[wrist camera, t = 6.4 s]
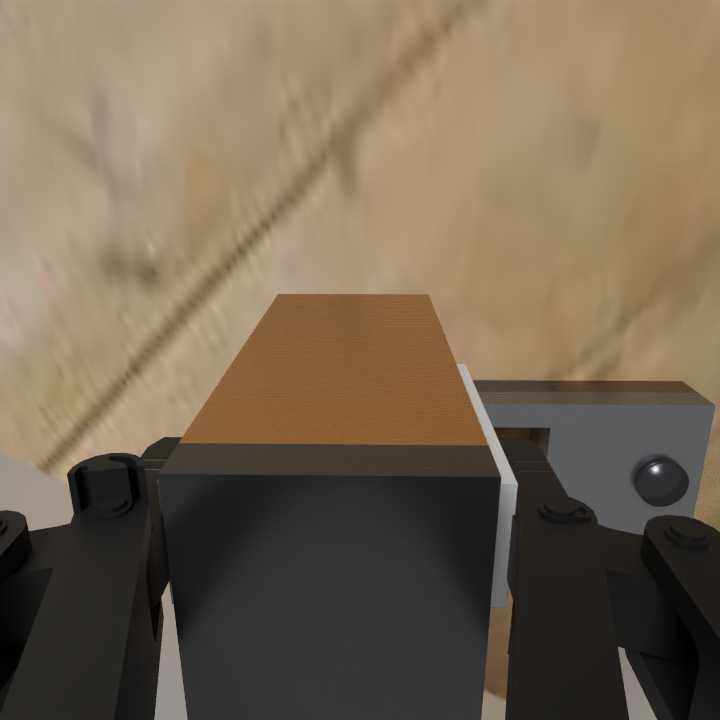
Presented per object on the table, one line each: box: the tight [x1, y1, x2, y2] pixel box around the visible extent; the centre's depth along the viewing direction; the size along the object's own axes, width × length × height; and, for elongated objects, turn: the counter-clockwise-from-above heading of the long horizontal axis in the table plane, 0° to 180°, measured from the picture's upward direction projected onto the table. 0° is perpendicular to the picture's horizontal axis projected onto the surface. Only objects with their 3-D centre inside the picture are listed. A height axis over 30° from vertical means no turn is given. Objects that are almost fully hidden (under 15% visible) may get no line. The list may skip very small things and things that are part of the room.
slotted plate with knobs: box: [472, 380, 715, 535], centre depth 39 cm, size 10×26×5 cm, turn 90°
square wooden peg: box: [158, 294, 501, 720], centre depth 15 cm, size 5×5×12 cm
